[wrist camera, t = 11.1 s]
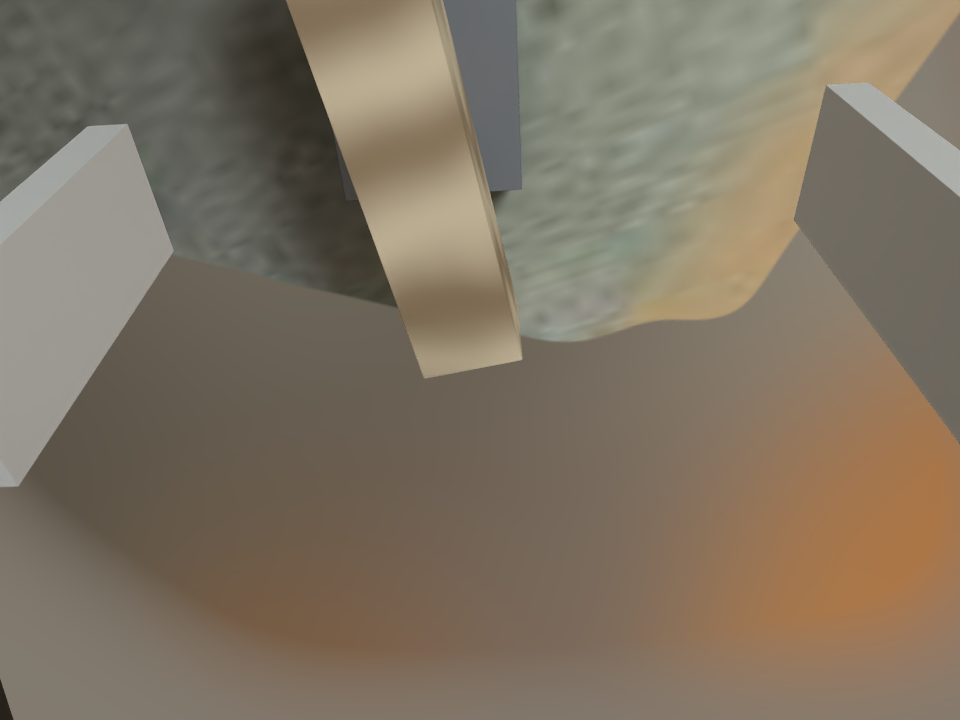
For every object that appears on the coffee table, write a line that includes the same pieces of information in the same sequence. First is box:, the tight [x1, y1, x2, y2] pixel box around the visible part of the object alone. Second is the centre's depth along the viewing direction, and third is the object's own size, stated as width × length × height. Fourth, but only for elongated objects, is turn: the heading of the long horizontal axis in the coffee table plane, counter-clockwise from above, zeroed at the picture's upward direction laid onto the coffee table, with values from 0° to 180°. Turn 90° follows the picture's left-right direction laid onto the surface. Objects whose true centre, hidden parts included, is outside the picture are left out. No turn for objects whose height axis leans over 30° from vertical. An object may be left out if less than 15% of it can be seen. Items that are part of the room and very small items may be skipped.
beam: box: [286, 0, 522, 378], centre depth 31 cm, size 22×5×5 cm, turn 13°
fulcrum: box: [331, 0, 522, 201], centre depth 36 cm, size 12×10×8 cm
